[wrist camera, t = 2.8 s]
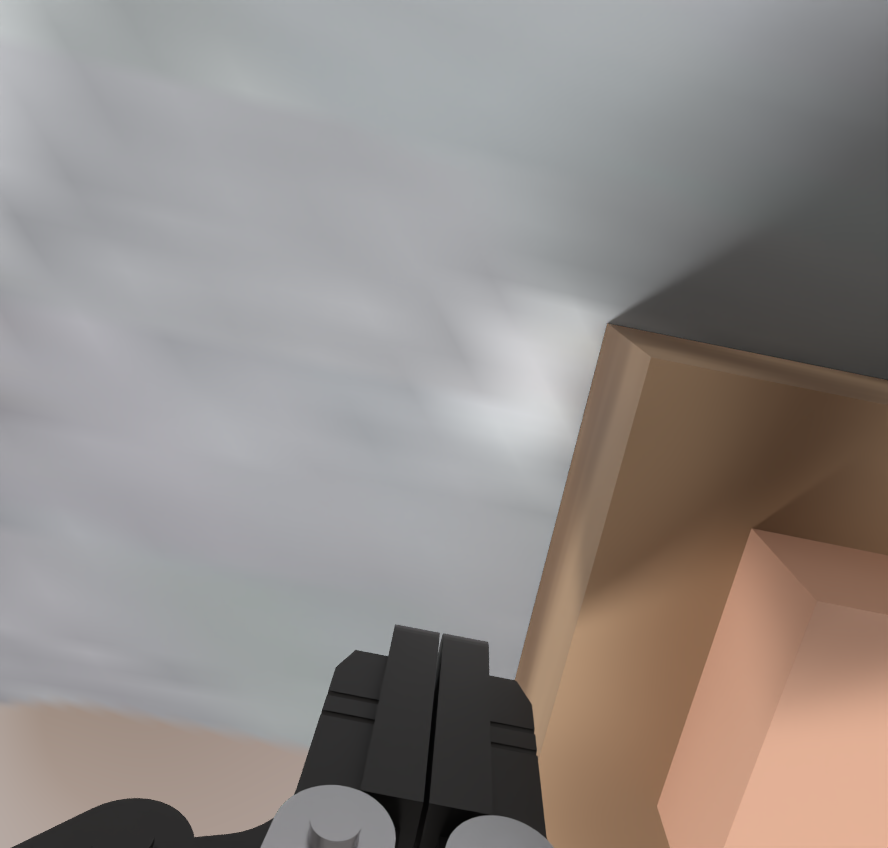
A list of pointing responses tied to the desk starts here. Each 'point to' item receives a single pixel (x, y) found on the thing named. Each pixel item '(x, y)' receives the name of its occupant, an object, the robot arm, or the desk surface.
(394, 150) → the desk surface
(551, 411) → the desk surface
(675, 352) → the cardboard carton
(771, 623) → the tile
